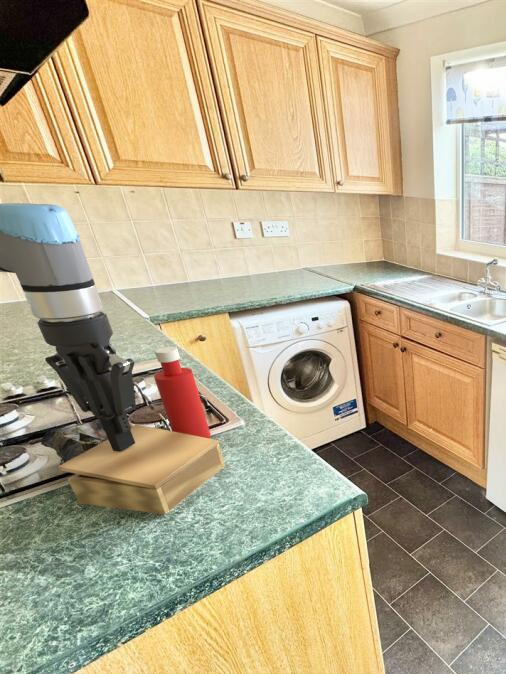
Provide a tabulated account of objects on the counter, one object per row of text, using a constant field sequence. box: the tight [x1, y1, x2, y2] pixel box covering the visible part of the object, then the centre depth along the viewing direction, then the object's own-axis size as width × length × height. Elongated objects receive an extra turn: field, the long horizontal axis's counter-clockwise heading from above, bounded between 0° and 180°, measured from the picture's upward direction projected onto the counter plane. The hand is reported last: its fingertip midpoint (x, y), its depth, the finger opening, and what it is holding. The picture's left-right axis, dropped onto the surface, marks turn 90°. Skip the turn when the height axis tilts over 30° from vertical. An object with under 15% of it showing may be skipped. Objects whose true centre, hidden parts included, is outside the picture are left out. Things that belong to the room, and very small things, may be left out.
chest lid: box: [58, 424, 220, 489], centre depth 73 cm, size 16×14×1 cm
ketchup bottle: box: [153, 346, 211, 439], centre depth 85 cm, size 6×6×21 cm
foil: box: [40, 418, 162, 465], centre depth 82 cm, size 12×11×15 cm
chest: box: [67, 443, 226, 515], centre depth 75 cm, size 16×14×6 cm
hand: (124, 446), depth 73 cm, fingers closed
